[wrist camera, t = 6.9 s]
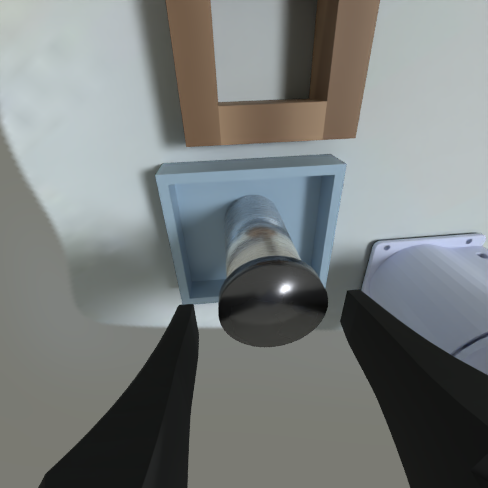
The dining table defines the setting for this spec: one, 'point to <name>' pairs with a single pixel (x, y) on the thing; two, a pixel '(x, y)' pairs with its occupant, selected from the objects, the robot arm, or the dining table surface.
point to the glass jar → (266, 279)
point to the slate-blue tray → (232, 188)
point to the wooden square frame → (274, 111)
